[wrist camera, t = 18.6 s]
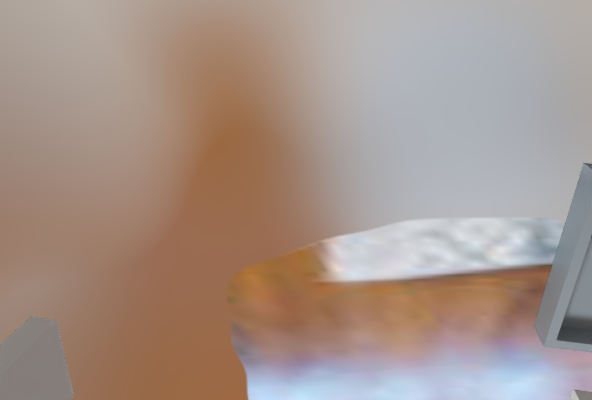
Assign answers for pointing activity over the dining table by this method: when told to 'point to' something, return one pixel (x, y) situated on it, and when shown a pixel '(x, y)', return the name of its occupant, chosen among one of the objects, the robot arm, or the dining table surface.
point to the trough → (571, 278)
